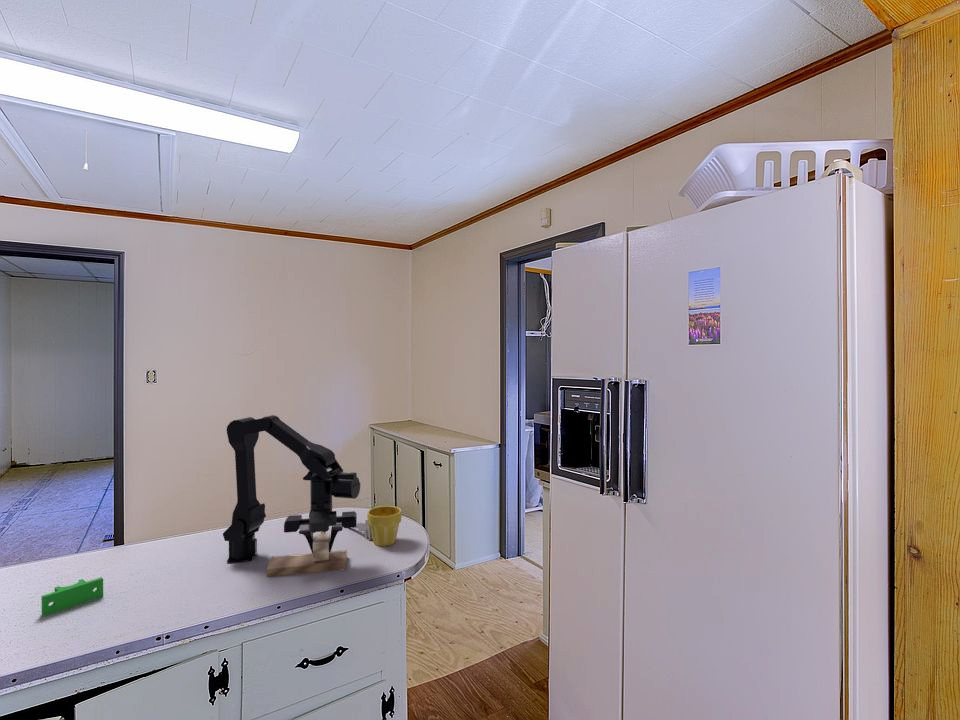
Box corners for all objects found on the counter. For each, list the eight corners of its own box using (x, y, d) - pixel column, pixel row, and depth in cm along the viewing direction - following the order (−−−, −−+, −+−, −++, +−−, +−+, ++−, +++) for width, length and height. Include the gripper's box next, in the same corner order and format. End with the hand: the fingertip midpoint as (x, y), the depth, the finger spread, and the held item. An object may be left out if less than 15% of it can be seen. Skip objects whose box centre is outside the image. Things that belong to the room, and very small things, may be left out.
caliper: (372, 540, 155) (372, 521, 155) (369, 541, 154) (369, 521, 154) (340, 523, 170) (341, 505, 170) (338, 524, 169) (338, 506, 169)
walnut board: (266, 576, 130) (266, 568, 130) (272, 563, 138) (272, 556, 138) (345, 569, 134) (345, 561, 134) (346, 557, 142) (346, 550, 142)
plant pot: (370, 551, 147) (370, 518, 146) (364, 538, 156) (364, 507, 156) (404, 546, 151) (404, 514, 150) (397, 534, 160) (397, 504, 160)
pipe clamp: (97, 592, 121) (97, 574, 121) (103, 597, 119) (103, 578, 119) (37, 612, 112) (37, 591, 112) (42, 617, 110) (43, 596, 110)
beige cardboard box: (312, 561, 133) (312, 542, 133) (316, 548, 142) (316, 530, 142) (328, 559, 134) (328, 541, 134) (330, 546, 143) (330, 529, 143)
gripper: (280, 507, 126) (280, 568, 127) (355, 502, 130) (356, 561, 131) (286, 495, 137) (287, 551, 137) (356, 490, 141) (356, 545, 142)
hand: (321, 552), depth 137 cm, fingers closed on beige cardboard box, 4 cm apart
